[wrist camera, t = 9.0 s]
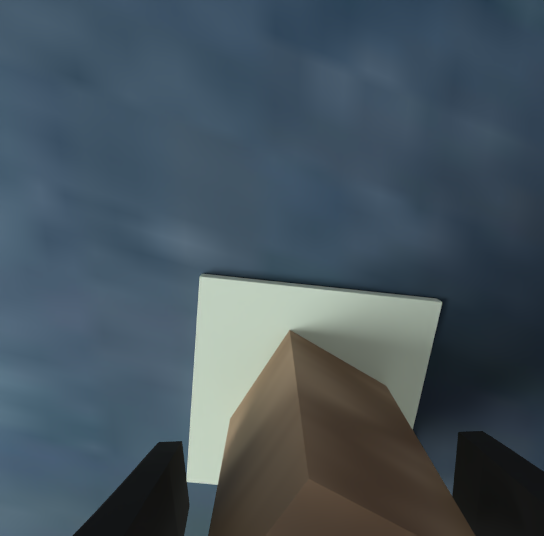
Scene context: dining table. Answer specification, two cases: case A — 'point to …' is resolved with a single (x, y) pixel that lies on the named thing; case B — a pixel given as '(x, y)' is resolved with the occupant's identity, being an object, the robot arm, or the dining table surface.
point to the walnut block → (326, 457)
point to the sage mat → (310, 325)
